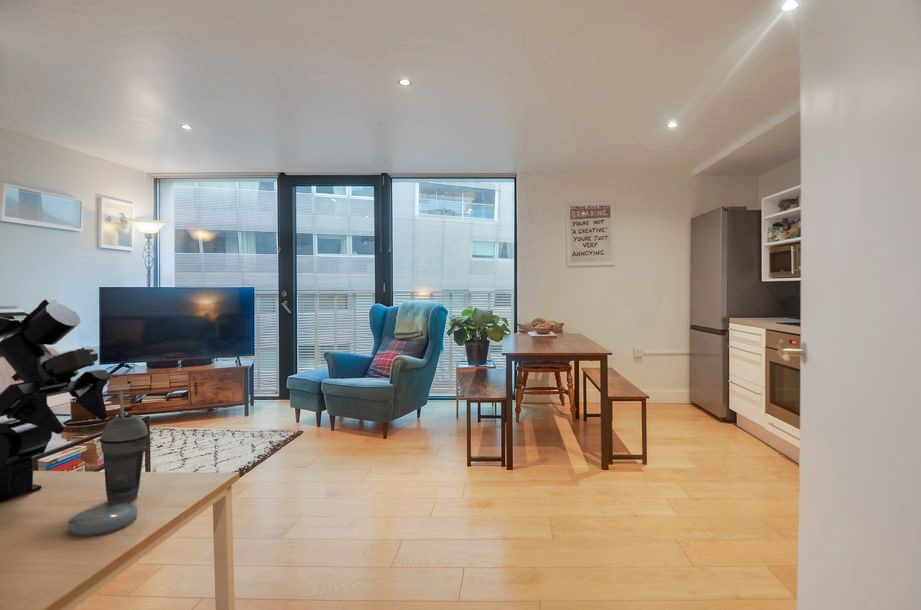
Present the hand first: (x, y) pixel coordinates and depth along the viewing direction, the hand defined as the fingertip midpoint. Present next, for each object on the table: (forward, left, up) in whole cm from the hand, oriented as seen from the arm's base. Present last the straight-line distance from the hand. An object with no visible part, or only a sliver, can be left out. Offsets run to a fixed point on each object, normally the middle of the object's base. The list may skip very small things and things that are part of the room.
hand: (84, 425), depth 83 cm
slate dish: (+13, -6, -13) cm, 19 cm away
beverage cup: (+7, +2, -14) cm, 16 cm away
